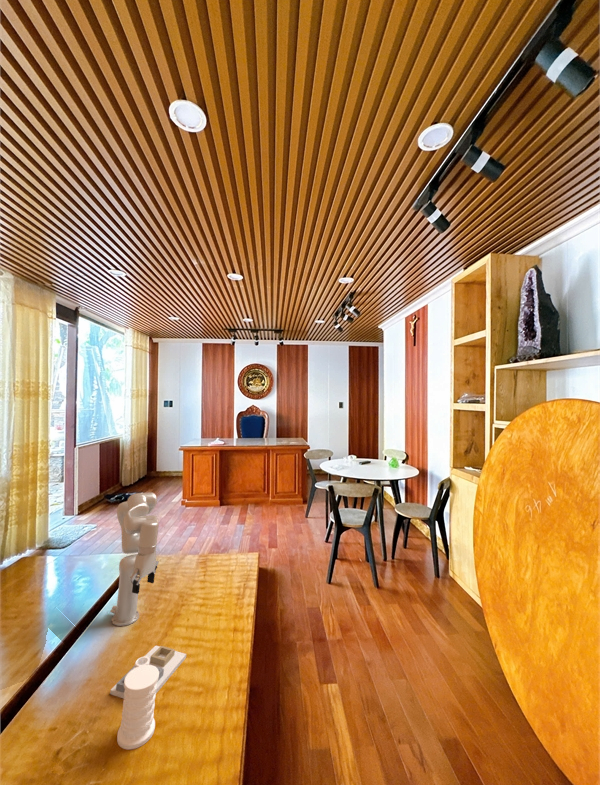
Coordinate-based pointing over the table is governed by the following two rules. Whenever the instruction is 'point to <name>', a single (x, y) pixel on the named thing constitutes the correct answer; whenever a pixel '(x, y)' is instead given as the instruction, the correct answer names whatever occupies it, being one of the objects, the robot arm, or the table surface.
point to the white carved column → (138, 707)
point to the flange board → (162, 660)
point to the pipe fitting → (142, 661)
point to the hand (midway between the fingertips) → (143, 587)
